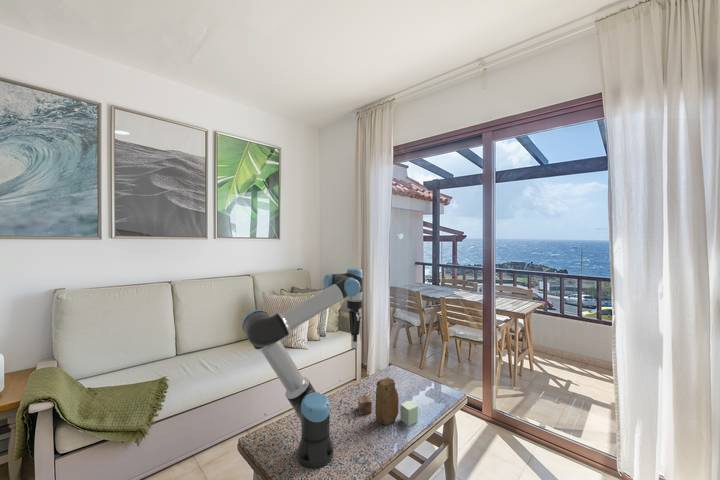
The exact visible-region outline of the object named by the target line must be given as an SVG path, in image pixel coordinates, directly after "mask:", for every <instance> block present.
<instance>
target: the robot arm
mask: <svg viewBox="0 0 720 480" xmlns="http://www.w3.org/2000/svg"><path fill="white" fill-rule="evenodd" d="M346 271H347V272H346V273H329V274H325V276H324V277H323V280H322V281H323V287H324V289H323V290H321V291H320V292H318V293H316V294H314V295H312V296H311V297H309V298H307V299H305V300H304V301H302V302H300V303H299V304H297V305H295V306H292V308H289V309H288V310H286V311H284V312H282V313H280V312H277V313H275V314H274V315H269V313H268V312H267V311H265V310H263V309H254V310H252V311H249V312H248V313H247V314H245V316H244V318H243V319H242V326H241V327H242V331H243V332H244V334H245V336H246V337H247V340H248V342H250V344H252V346H253V348H254V350H257V351H260V352H261V353H262V355H263V356H264V358H265V359H266V361H267V362H268V365H269V366H270V367H271V369H272V370H273V372H274V374H276V376H277V377H278V379H279V381H280V383H281V384H282V386H283V387H284V389H285V394H284V395H285V397H286V399H287V400H288V402H289V404H290V405H291V407H292V408H293V410H294V411H295V413H296V414H297V417H298V418H299V420H300V423H301V437H300V441H299V444H298V447H297V451H296V460H297V461H298V463H299V464H300V465H301V466H302V467H304V468H308V469H309V468H310V469H318V468H321V467H324V466H326V465H328V463H330V462H331V461H332V459H333V458H334V453H335V452H334V450H335V449H334V444H333V441H332V437H331V435H330V427H331V426H330V420H331V419H330V418H331V417H330V416H331V415H330V413H331V405H330V399H329V398H328V397H327V396H326V395H325V394H323V393H320V392H317V391H316V389H315V388H314V386H313V385H312V383H311V381H310V380H309V378H307V377H306V376H303V374H302V373H301V372H300V371H299V368H298V367H297V365H296V364H295V362H294V361H293V359H292V357H291V356H290V354H289V352H288V350H287V349H286V347H285V346H284V345H283V342H282V340H283V339H285V338H287V337H288V336H290V334H291V331H293V330H294V329H296V328H297V327H299V326H300V325H303V324H304V323H306V322H307V321H309V320H311V319H312V318H314V317H316V316H318V315H319V314H321V313H322V312H324V311H326V310H328V309H330V308H331V307H332V306H334V305H336V304H337V303H339V302H341V301H342V300H344V299H346V308H347V309H348V310H349V311H348V319H349V320H348V321H349V331H350V335H351V338H350V343H351V344H350V347H351V349H355V348H356V349H358V336H359V335H360V328H361V326H360V325H361V319H362V317H361V316H360V311H359V310H360V309H362V308H363V295H364V292H363V277H364V275H363V270H362V269H361V268H355V267H353V268H352V267H350V268H347V270H346Z"/></svg>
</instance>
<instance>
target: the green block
mask: <svg viewBox="0 0 720 480" xmlns="http://www.w3.org/2000/svg"><path fill="white" fill-rule="evenodd" d="M399 405H400V406H399V407H400V409H399V411H400V415H399V416H400V417H399V418H400V419H399V420H400V421H401V422H402V423H404V425H406V426H407V427H410V426H412V424H413V425H415V424H417V423H418V422H419V420H418V418H419V417H418V416H419V413H418V411H419V410H418V409H419V406H418V405H417V404H415V403H414V402H413V401H411V400H407V401H405V402H402V403H400V404H399ZM414 423H415V424H414Z"/></svg>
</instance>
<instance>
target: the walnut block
mask: <svg viewBox="0 0 720 480" xmlns="http://www.w3.org/2000/svg"><path fill="white" fill-rule="evenodd" d="M372 403H373V402H372V399H371V395H362V396H361V395H360V396H359V395H358V403H357V404H358V412H359V415H363V414H365V415H366V414H372V409H373V408H372V406H373V405H372Z"/></svg>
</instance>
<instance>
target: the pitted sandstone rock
mask: <svg viewBox="0 0 720 480" xmlns="http://www.w3.org/2000/svg"><path fill="white" fill-rule="evenodd" d="M375 389H376V390H375V406H374V407H375V409H374V411H375V418H376V420H377V421H378V422H379V424H382V425H390V424H392V423H393V422H395V421H396V419H397V417H398V415H399V410H400V409H399V407H400V406H399V405H400V404H399V403H400V402H399V401H400V400H399V399H400V398H399V392H398V390H397V388H396V381H395V380H394V379H393V378H391V377H386V378H381V379H378V381H377V382H376V388H375Z"/></svg>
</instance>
